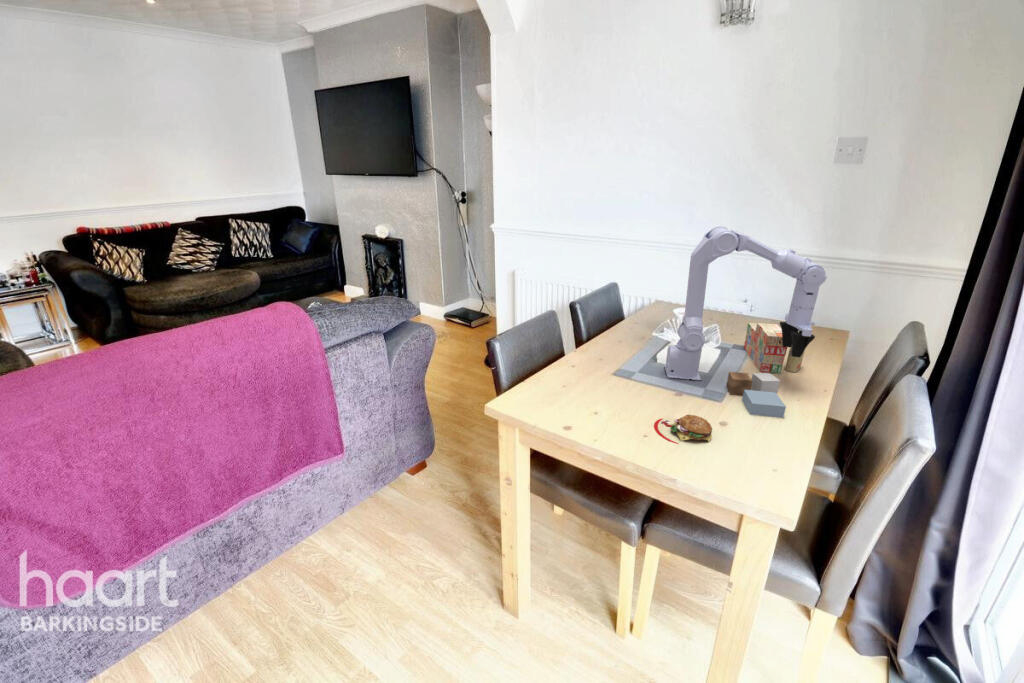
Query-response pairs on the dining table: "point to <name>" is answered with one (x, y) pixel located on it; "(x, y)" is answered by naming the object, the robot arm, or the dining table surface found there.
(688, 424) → the hamburger
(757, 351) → the stack of blocks
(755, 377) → the grey cube
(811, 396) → the dining table surface
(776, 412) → the base block
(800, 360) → the lighter
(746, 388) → the walnut cube
